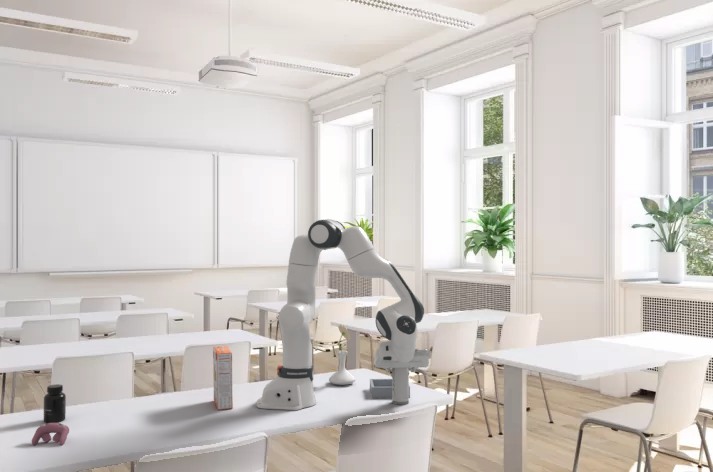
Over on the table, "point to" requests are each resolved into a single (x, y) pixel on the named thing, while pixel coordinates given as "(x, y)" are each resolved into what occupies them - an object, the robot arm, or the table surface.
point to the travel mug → (400, 386)
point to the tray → (381, 388)
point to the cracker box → (222, 377)
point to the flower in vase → (342, 363)
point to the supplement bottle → (54, 404)
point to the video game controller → (49, 428)
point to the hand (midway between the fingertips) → (400, 370)
